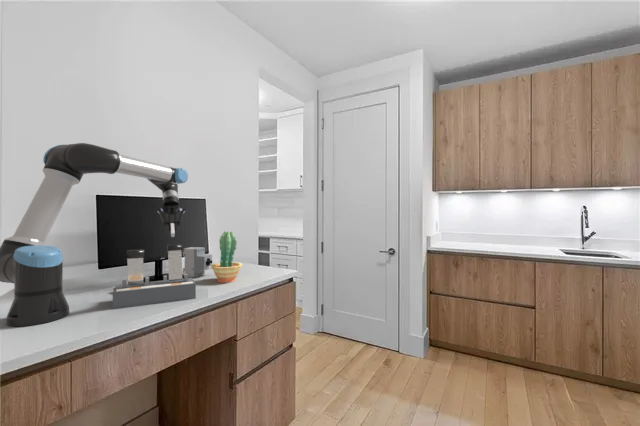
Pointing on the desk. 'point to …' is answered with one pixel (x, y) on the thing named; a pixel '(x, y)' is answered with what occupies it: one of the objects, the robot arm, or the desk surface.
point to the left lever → (135, 266)
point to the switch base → (153, 292)
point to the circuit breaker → (196, 261)
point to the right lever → (175, 262)
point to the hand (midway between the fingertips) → (172, 235)
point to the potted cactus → (227, 259)
